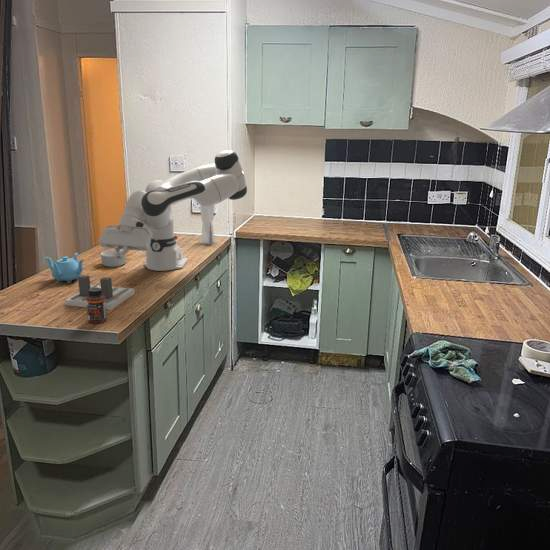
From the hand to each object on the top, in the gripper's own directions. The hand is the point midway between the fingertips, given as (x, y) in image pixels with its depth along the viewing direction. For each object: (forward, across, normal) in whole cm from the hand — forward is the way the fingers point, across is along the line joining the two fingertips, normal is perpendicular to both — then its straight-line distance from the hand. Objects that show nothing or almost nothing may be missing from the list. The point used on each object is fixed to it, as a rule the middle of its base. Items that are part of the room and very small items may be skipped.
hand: (118, 257), depth 191 cm
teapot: (+4, -30, +17) cm, 35 cm away
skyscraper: (-51, +3, +73) cm, 89 cm away
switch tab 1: (+16, -8, +1) cm, 19 cm away
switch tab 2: (+16, +1, +1) cm, 17 cm away
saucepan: (-17, -23, +39) cm, 49 cm away
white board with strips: (+16, -4, +5) cm, 17 cm away
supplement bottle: (+29, +6, -8) cm, 31 cm away
